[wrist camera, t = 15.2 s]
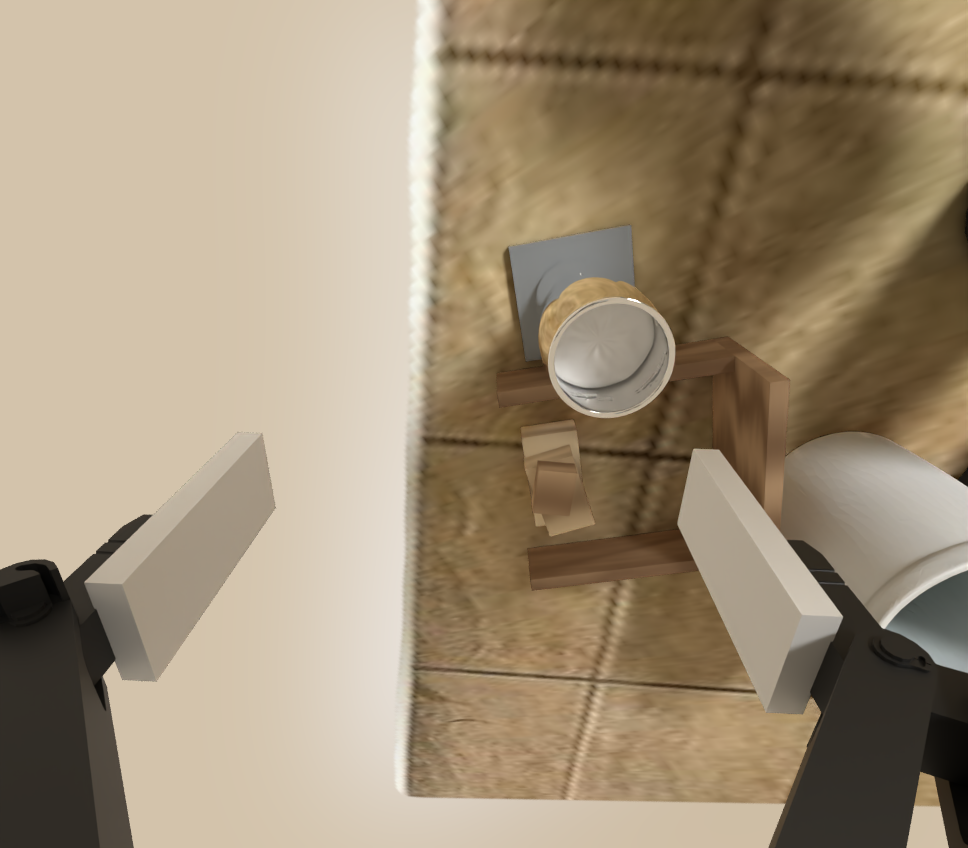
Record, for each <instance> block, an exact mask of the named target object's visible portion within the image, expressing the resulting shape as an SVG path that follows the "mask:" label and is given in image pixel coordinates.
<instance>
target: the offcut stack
mask: <svg viewBox="0 0 968 848" xmlns="http://www.w3.org/2000/svg"><path fill="white" fill-rule="evenodd" d="M520 429H521V439H522V445H523V451H524V457H525V458H524V466H525V472H526V474H527V477H528V482H529V488H530V494H531V500H532V512H533V513H534V518H535V524H536V527H537V526H545V525H546V527H547V530H548V532H549V535H550V537H551V536H555V535H558V534H562V533H566V532H569V531H573V530H576V529H580V528H584V527H587V526H591V525H594V524H595V521H594V518H593V514H592V511H591V508H590V505H589V502H588V499H587V496H586V493H585V490H584V487H583V480H582V471H581V463H580V454H579V445H578V437H577V429H576V426H575V423H574V420H573V419H571V420H564V421H557V422H551V423H544V424H537V425H531V426H524V427H520Z"/></svg>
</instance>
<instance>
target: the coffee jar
mask: <svg viewBox="0 0 968 848" xmlns="http://www.w3.org/2000/svg"><path fill="white" fill-rule="evenodd" d="M965 234H966V237H967V241H968V209H967V212H966V227H965Z"/></svg>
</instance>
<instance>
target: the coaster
mask: <svg viewBox="0 0 968 848" xmlns="http://www.w3.org/2000/svg"><path fill="white" fill-rule="evenodd" d="M508 247H509V253H510V260H511V267H512V273H513V280H514V287H515V293H516V300H517V307H518V313H519V320H520V327H521V333H522V340H523V347H524V353H525V360H526V362H527V361H533V360H539V359H541V355H540V351H539V344H538V326H539V319H538V316H537V314H536V310H535V294H536V290H537V287H538V285H539V283H540V281H541V279H542V278H543V276H544V275H545V274H546V273H547V272H548V271H549V270H550V269H552V268H553V267H554V266H556V265H558V264H560V263H562V262H565V261H568V260H576V259H578V260H586V261H590V262H592V263H594V264H596V265H598V266H599V267H601V268H602V269H603V270H604V271H605V272H606V273H607V275H608V276H612V277H616V278H619V279H621V280H623V281H625V282H627V283H629V284H630V285H632V286H633V287H635V282H634V265H633V247H632V230H631V225H630V224H629V225H623V226H618V227H612V228H607V229H601V230H596V231H590V232H584V233H579V234H573V235H568V236H562V237H557V238H551V239H546V240H540V241H535V242H529V243H524V244H518V245H513V246H508Z"/></svg>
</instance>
